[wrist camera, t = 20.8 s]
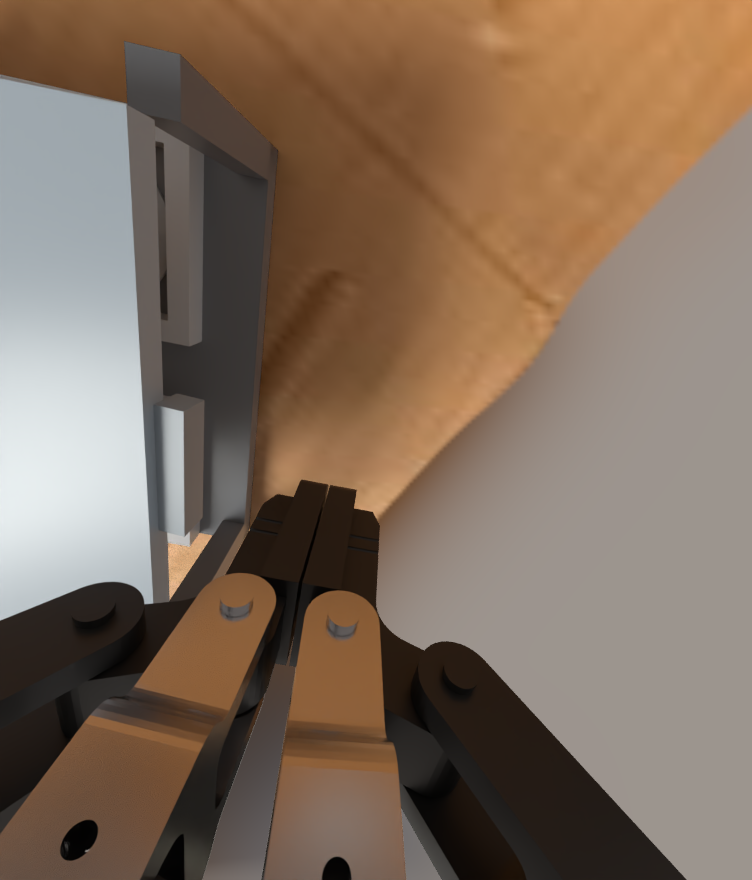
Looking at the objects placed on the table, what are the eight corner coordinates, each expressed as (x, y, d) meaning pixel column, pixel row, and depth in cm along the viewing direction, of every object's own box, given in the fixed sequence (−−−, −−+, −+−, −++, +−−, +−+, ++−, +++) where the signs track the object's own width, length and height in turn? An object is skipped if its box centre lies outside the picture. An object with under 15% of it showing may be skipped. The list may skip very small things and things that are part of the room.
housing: (-84, 68, 15) (-589, -138, 7) (278, 150, 16) (165, 39, 8) (9, 486, 23) (-187, 600, 15) (249, 530, 23) (178, 661, 16)
